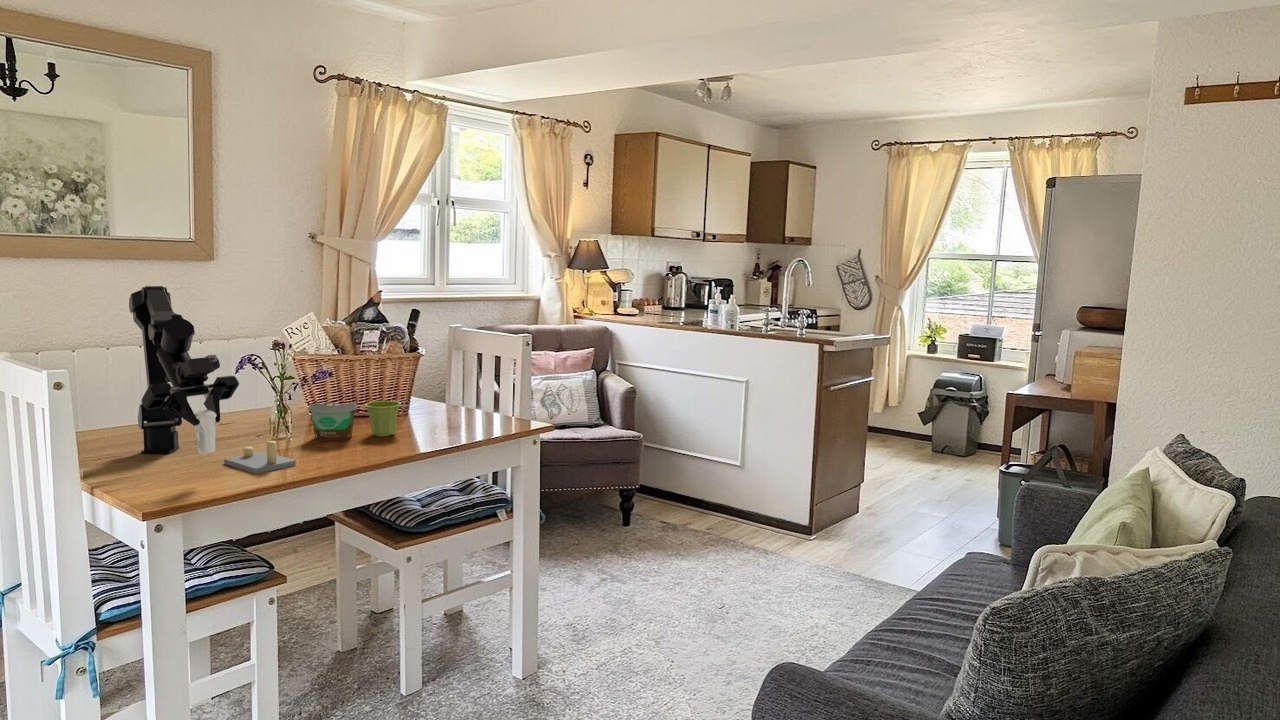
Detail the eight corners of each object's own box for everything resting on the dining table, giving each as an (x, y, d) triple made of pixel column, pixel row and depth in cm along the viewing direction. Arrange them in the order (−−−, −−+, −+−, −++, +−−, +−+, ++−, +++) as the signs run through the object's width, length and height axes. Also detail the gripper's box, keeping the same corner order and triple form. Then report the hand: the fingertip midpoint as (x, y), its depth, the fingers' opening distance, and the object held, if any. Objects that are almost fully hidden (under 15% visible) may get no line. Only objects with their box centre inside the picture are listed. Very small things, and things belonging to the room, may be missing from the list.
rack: (224, 463, 194) (223, 438, 193) (263, 455, 202) (263, 431, 201) (256, 473, 187) (255, 447, 186) (295, 465, 195) (295, 439, 194)
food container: (306, 443, 216) (305, 405, 214) (309, 438, 222) (308, 401, 220) (356, 442, 219) (355, 405, 218) (357, 437, 225) (357, 400, 224)
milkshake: (196, 449, 181) (194, 404, 179) (222, 449, 181) (219, 404, 180) (187, 454, 176) (184, 408, 175) (213, 454, 177) (210, 409, 175)
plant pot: (365, 439, 223) (365, 407, 222) (365, 431, 232) (365, 401, 231) (401, 437, 226) (401, 406, 225) (400, 430, 235) (400, 400, 234)
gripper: (146, 346, 170) (176, 406, 165) (233, 340, 185) (263, 395, 181) (129, 379, 175) (157, 438, 171) (215, 370, 191) (243, 424, 186)
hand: (207, 423), depth 177 cm, fingers closed on milkshake, 4 cm apart
